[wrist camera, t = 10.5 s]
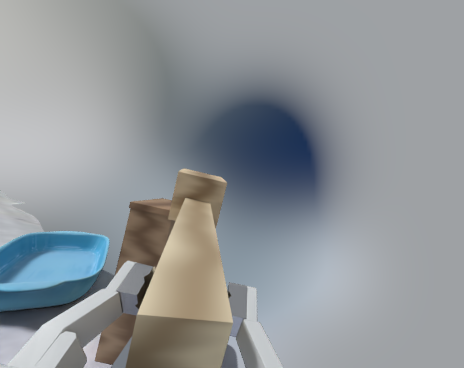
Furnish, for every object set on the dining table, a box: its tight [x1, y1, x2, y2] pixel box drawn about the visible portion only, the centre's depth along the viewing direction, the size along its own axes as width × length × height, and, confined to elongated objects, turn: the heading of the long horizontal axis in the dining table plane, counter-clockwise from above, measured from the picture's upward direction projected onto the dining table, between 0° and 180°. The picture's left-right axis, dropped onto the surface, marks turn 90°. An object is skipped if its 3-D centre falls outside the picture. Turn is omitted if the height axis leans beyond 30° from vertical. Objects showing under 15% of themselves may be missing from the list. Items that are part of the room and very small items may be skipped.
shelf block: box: [95, 198, 176, 365], centre depth 37 cm, size 7×14×26 cm, turn 0°
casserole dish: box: [0, 231, 110, 312], centre depth 48 cm, size 37×22×7 cm, turn 31°
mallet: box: [125, 169, 233, 368], centre depth 21 cm, size 7×28×7 cm, turn 11°
